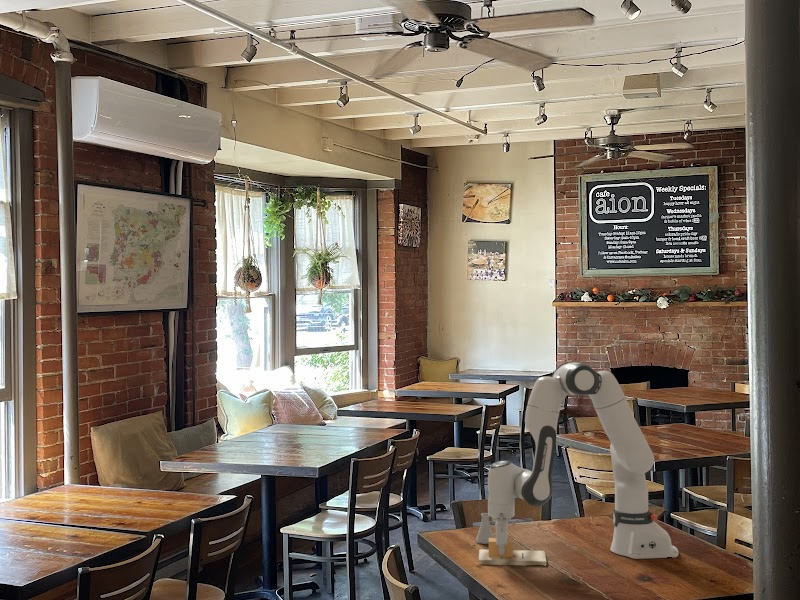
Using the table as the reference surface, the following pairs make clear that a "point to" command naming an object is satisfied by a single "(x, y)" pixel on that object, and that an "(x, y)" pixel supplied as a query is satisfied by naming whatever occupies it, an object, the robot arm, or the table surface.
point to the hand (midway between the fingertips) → (501, 551)
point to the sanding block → (495, 548)
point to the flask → (484, 530)
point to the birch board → (514, 558)
